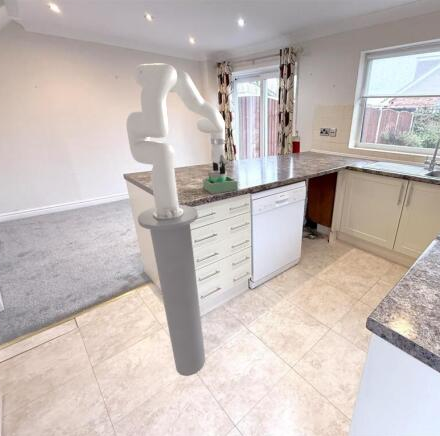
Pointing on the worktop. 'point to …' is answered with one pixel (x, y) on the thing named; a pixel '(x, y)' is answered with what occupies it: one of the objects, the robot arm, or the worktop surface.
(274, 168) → the worktop surface
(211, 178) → the food container
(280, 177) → the worktop surface
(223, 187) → the tub
